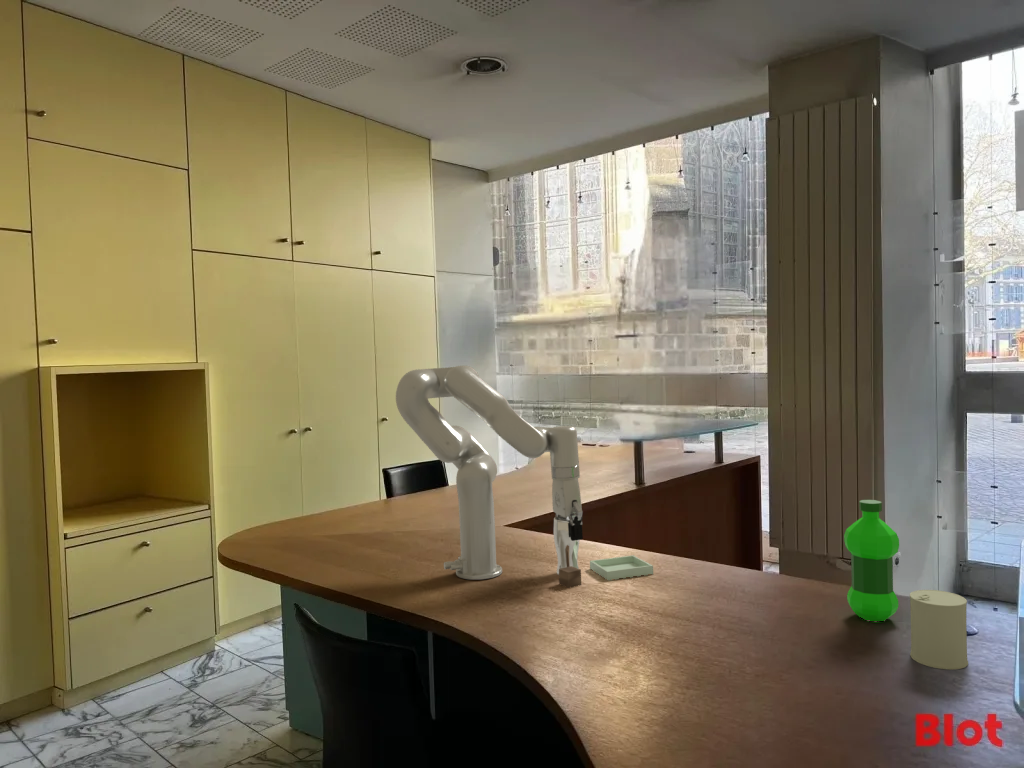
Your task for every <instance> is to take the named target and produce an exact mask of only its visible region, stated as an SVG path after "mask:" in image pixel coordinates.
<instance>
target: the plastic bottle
mask: <svg viewBox="0 0 1024 768" xmlns="http://www.w3.org/2000/svg"><path fill="white" fill-rule="evenodd" d="M858 503H859V511H861V513H862V516H861V517H860V518H858V519H857V520H856V521H854V522H853V523H852V524H851V525H849V526H848V527H847V528H846V529H845V532H844V534H843V541H844V544H845V548H846V549H847V550H848V552H849V553H850V557H851V558H850V560H851V561H850V563H851V564H850V565H851V569H850V570H851V572H850V573H851V586H850V588H849V590H848V591H847V594H846V597H847V598H846V599H847V603H848V605H849V607H850V608H851V610H852V611H853V613H854V614H856V616H858V617H859V618H860V617H861V618H863V619H865V620H870V621H884V620H886V619H889V618H891V617H892V616H893V615H894V614H895V613H896V612H897V611H898V609H899V600H898V597H897V595H896V593H895V592H894V576H893V575H894V573H893V571H894V569H893V557H894V556H895V555H897V553H898V552H899V549H900V538H899V536H898V534H897V532H896V531H895V530H894V529H892V528H891V527H890V526H889V525H888V524H887V523H886V522H885V521H884V520H882V519H881V518H880V512H883V509H882V508H883V506H882V505H883V502H882V501H881V500H876V499H861V500H859V502H858ZM861 618H860V619H861ZM863 619H862V620H863ZM865 620H864V621H865ZM886 621H887V620H886ZM884 622H885V621H884Z"/></svg>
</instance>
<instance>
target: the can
mask: <svg viewBox="0 0 1024 768" xmlns="http://www.w3.org/2000/svg"><path fill="white" fill-rule="evenodd" d="M909 602H910V641H911V642H910V657H911V659H912V660H913V661H915V662H917V663H918V664H921V665H923V666H926V667H929V668H934V669H939V670H947V671H948V670H949V671H950V670H955V671H956V670H961V669H965V668H967V666H968V665H969V660H968V644H967V643H968V642H967V638H968V634H967V607H968V606H967V603H968V600H967V599H966V598H965V597H964V596H962V595H959V594H957V593H955V592H950V591H944V590H937V589H919V590H918V589H917V590H913V591H911V592H910V593H909Z"/></svg>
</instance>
